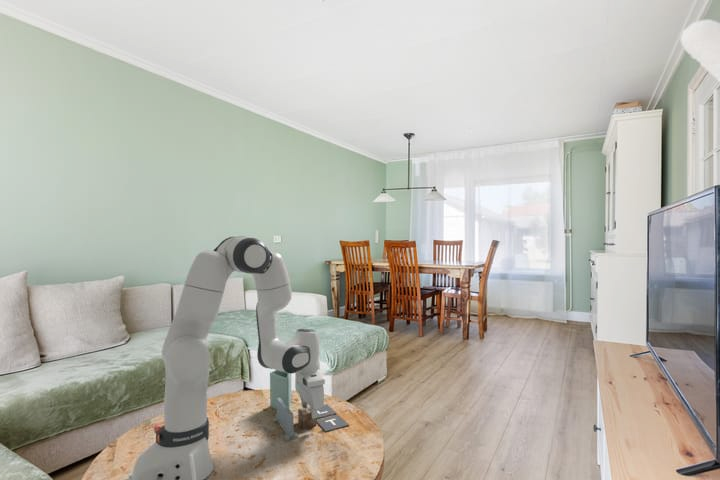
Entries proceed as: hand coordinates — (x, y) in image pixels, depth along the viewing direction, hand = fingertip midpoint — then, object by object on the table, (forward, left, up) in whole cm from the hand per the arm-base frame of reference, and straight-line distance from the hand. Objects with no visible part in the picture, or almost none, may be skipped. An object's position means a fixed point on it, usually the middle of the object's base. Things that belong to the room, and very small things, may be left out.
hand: (309, 412), depth 134 cm
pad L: (+7, +7, -4) cm, 11 cm away
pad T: (+7, -4, -4) cm, 9 cm away
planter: (-5, +20, -5) cm, 21 cm away
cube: (-1, 0, -4) cm, 4 cm away
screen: (-9, +1, -4) cm, 10 cm away
